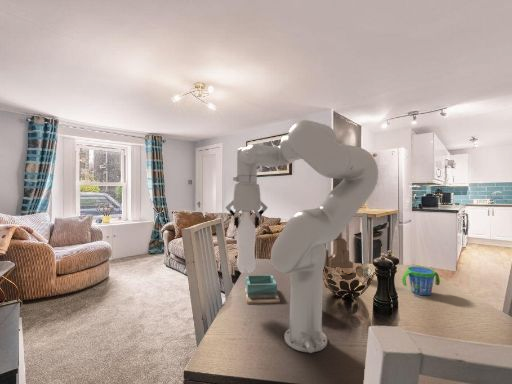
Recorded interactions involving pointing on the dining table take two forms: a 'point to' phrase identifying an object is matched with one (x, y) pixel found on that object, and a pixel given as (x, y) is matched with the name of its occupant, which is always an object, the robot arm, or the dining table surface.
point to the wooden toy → (338, 254)
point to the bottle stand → (261, 289)
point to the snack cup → (421, 279)
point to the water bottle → (246, 243)
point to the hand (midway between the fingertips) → (246, 227)
